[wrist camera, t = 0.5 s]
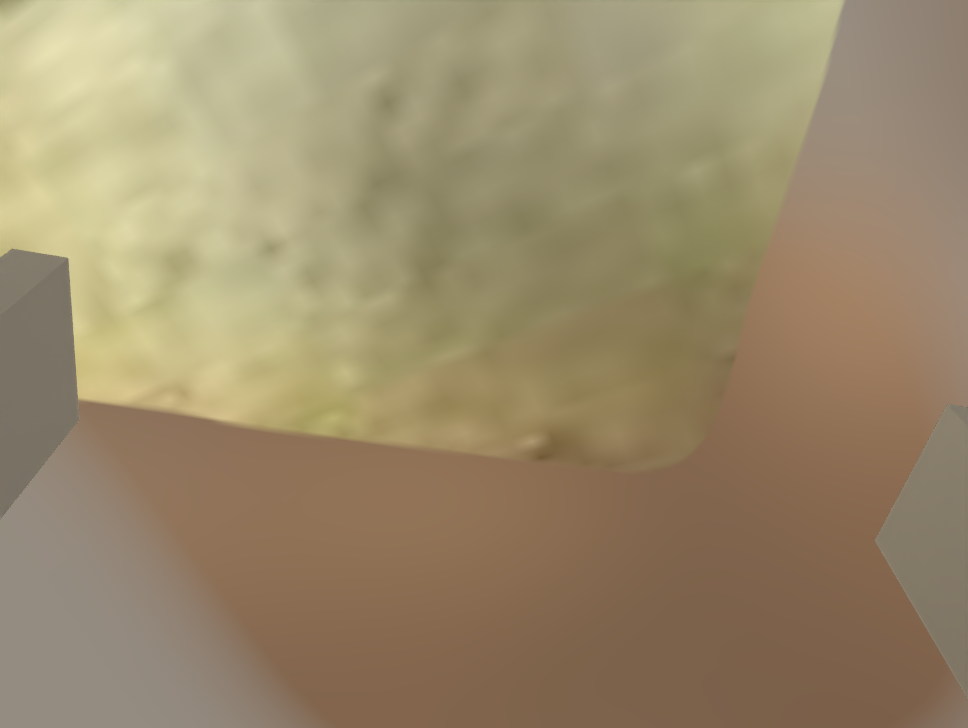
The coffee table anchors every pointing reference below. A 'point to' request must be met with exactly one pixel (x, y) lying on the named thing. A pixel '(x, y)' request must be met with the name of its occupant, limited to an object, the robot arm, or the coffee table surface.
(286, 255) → the coffee table surface
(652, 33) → the coffee table surface
